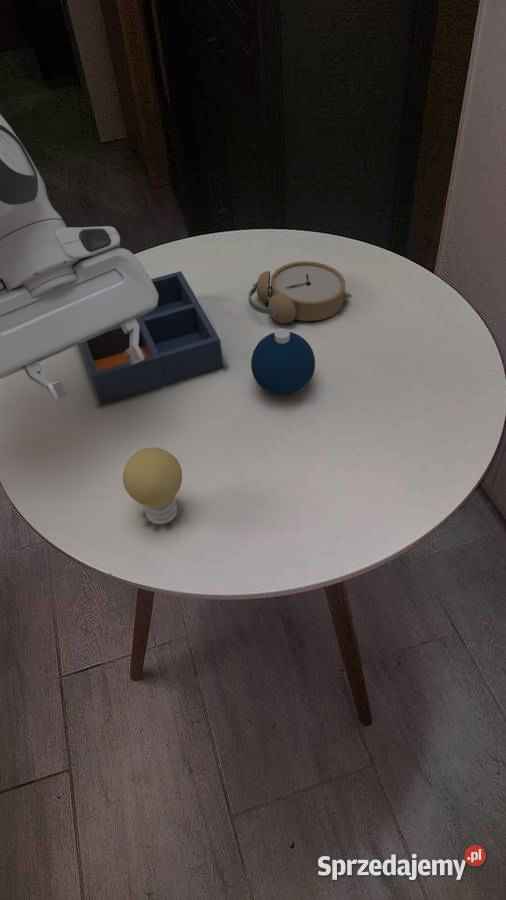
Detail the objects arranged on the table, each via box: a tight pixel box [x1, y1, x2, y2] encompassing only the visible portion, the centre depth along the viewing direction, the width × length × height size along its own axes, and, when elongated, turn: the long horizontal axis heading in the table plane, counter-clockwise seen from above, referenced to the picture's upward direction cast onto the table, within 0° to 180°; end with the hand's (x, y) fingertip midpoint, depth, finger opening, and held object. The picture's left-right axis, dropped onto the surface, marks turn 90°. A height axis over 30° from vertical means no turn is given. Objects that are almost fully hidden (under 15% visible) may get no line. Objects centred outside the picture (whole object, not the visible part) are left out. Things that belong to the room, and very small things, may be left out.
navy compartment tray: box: [79, 270, 224, 405], centre depth 98 cm, size 18×18×5 cm
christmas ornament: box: [250, 327, 316, 397], centre depth 89 cm, size 8×8×10 cm
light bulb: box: [122, 447, 183, 525], centre depth 76 cm, size 6×6×10 cm
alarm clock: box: [248, 260, 353, 324], centre depth 103 cm, size 11×5×15 cm
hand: (100, 380), depth 75 cm, fingers open, 8 cm apart
